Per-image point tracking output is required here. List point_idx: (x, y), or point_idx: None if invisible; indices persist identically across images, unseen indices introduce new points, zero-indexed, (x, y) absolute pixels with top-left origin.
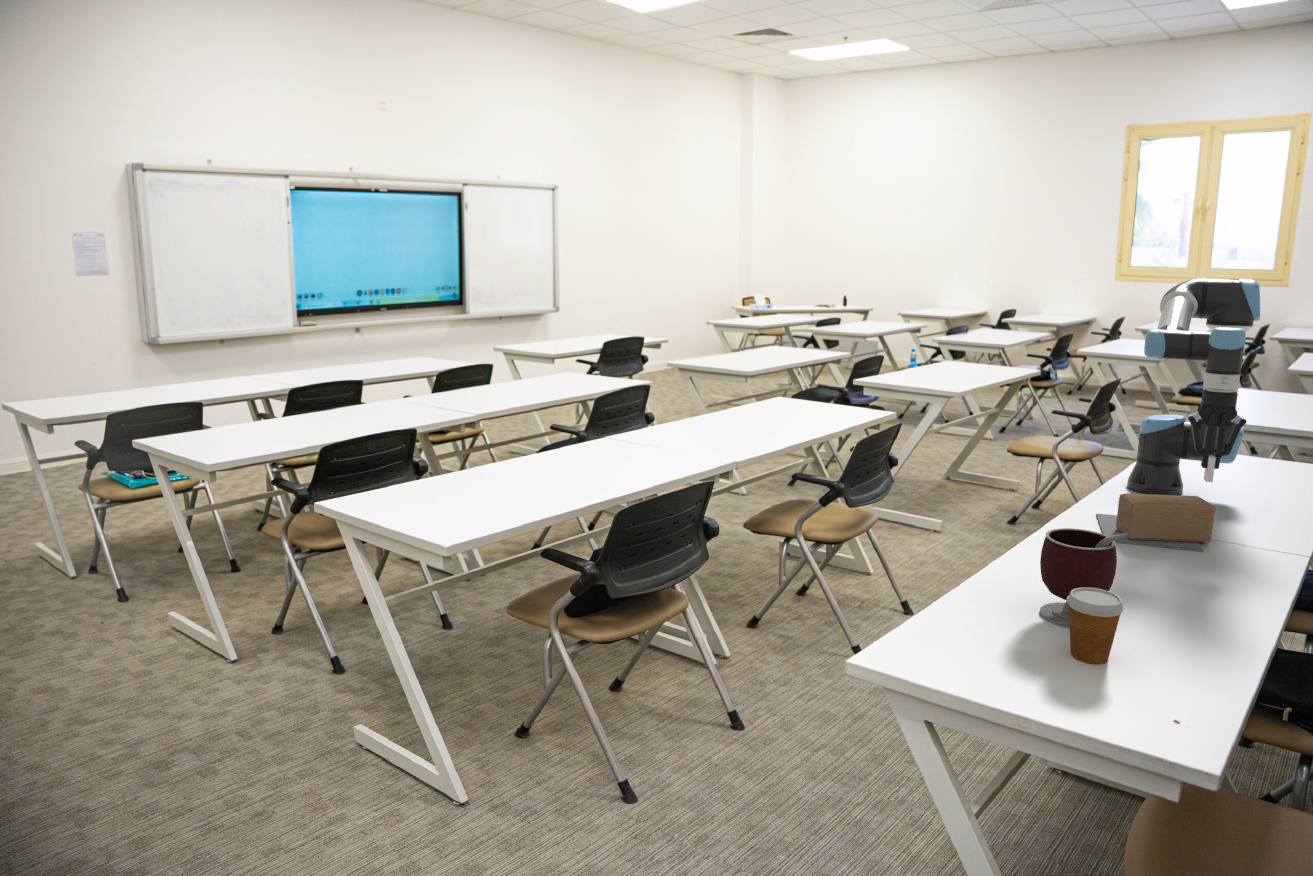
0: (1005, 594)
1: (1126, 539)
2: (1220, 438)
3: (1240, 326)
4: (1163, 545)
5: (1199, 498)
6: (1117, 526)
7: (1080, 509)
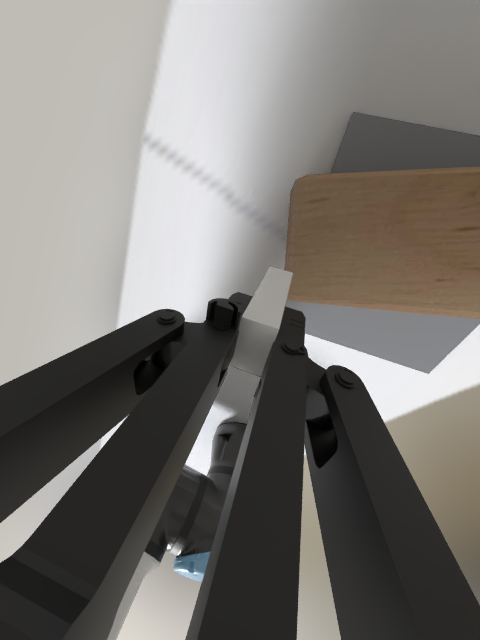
0: None
1: None
2: (151, 435)
3: None
4: (456, 132)
5: (300, 269)
6: None
7: (431, 399)
